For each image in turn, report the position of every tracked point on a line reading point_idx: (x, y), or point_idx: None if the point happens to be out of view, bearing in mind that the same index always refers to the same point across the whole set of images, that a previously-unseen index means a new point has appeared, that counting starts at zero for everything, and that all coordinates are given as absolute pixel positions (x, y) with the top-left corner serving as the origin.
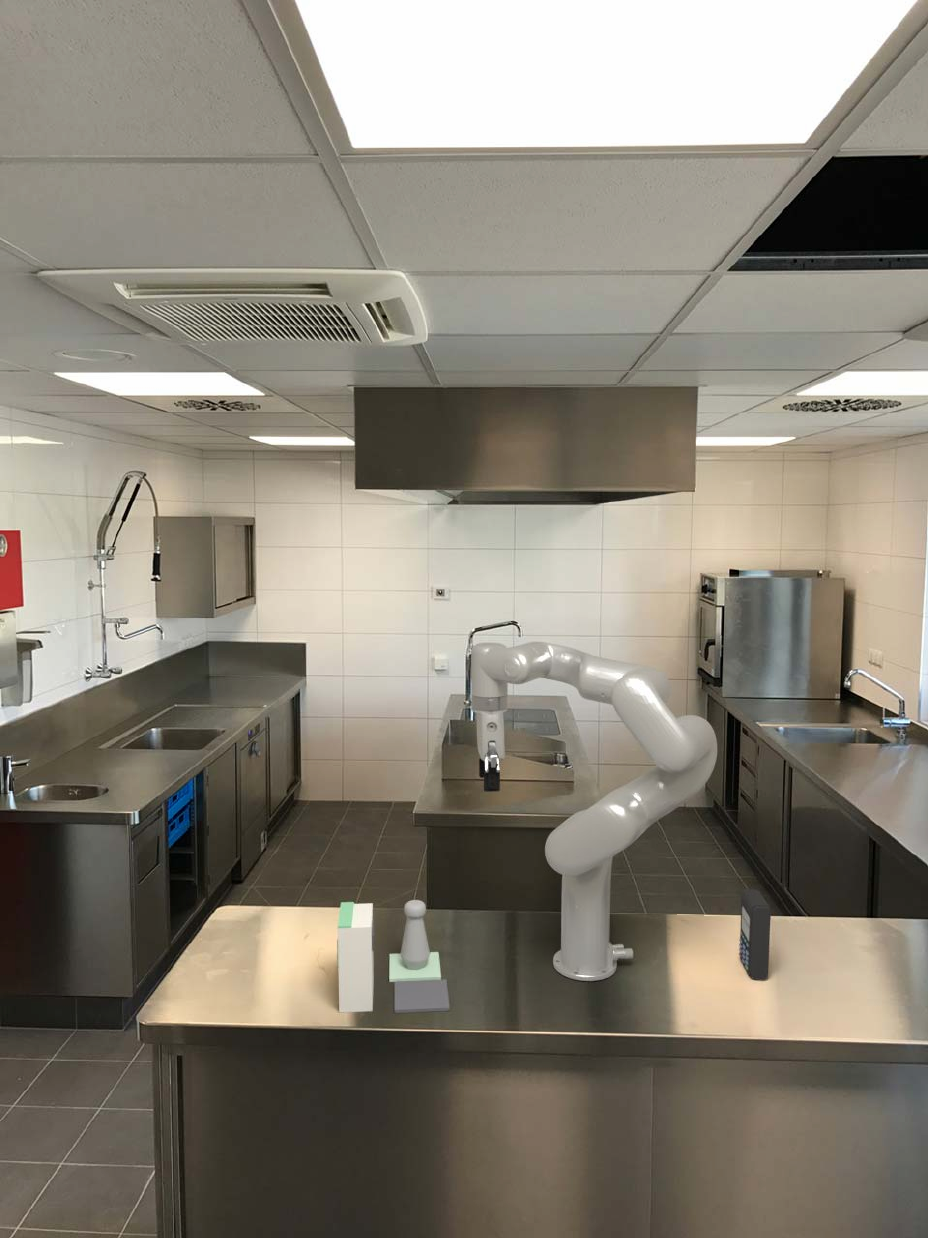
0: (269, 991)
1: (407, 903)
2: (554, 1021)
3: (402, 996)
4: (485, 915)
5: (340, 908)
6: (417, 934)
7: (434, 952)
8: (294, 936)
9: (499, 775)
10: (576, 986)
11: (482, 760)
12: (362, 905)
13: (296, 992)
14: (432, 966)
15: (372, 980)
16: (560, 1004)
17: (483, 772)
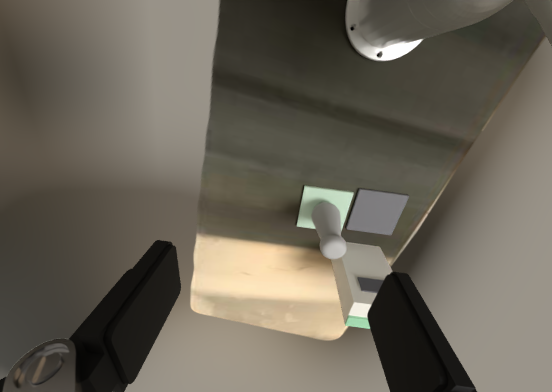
0: (324, 296)
1: (331, 258)
2: (482, 100)
3: (373, 227)
4: (220, 115)
5: (360, 327)
6: (340, 230)
7: (304, 190)
8: (245, 280)
9: (456, 359)
10: (431, 44)
11: (129, 379)
12: (355, 310)
13: (331, 284)
14: (331, 196)
15: (377, 260)
16: (456, 81)
17: (167, 300)
